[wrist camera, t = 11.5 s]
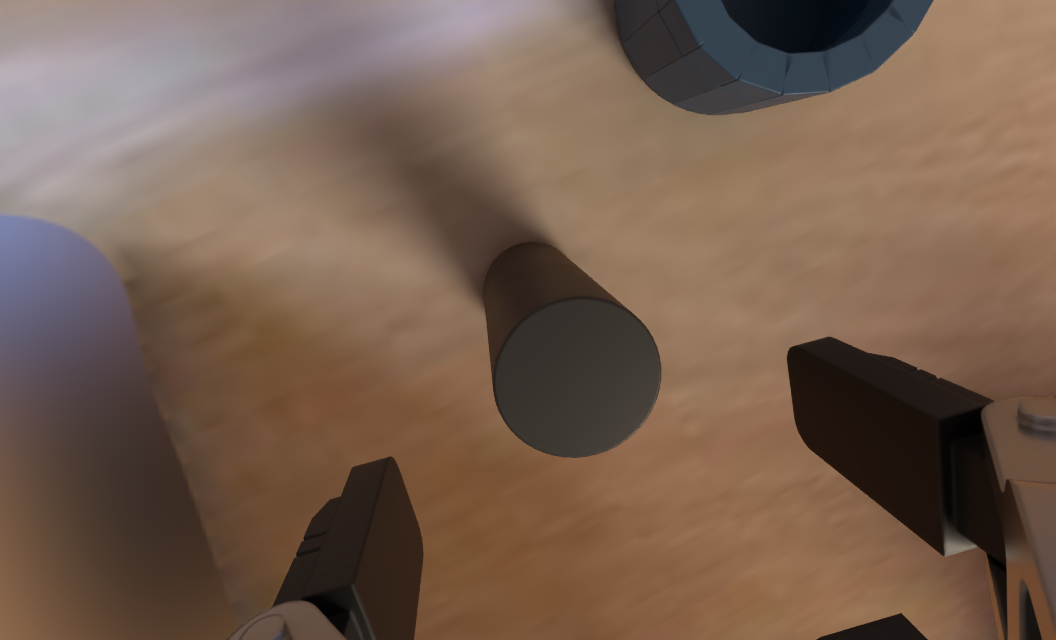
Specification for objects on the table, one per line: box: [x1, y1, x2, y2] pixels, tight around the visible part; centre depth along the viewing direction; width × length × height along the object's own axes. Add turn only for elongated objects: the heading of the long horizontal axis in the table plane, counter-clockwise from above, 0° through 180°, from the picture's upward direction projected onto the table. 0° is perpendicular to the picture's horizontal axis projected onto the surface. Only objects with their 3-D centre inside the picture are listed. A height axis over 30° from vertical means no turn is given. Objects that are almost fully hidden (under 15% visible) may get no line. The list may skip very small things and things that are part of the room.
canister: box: [484, 243, 661, 458], centre depth 20 cm, size 4×4×12 cm
